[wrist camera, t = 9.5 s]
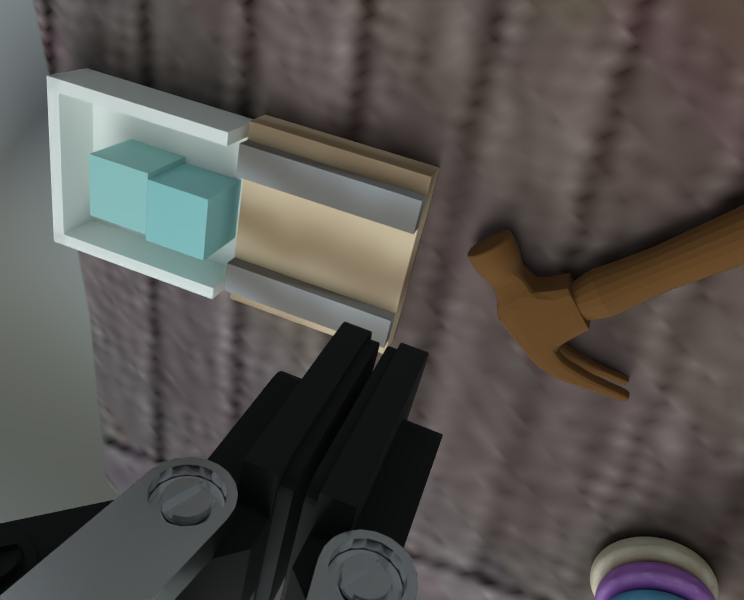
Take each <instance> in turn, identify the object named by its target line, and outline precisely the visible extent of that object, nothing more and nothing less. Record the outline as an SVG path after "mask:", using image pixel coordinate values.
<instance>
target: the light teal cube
mask: <svg viewBox="0 0 744 600" xmlns="http://www.w3.org/2000/svg"><path fill="white" fill-rule="evenodd" d="M183 163H185V156H182V155H179V154H175V153H172V152H169V151H166V150H163V149H160V148H157V147H154V146H151V145H148V144H145V143H141V142H138V141H135V140H132V139H130V140H127V141H124V142H121V143H118V144H115V145H113V146H110V147H107V148H104V149H101V150H98V151H96V152H93V153H90V154H89V186H90V215H91V216H94V217H97V218H100V219H103V220H105V221H108V222H111V223H114V224H117V225H120V226H122V227H125V228H128V229H131V230H134V231H137V232H140V233H142V234H145V235H146V216H147V185H148V179H150V178H152V177H154V176H157V175H159V174H161V173H163V172H165V171H168V170H170V169H172V168H174V167H176V166H179V165H181V164H183Z"/></svg>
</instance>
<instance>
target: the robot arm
mask: <svg viewBox="0 0 744 600" xmlns="http://www.w3.org/2000/svg"><path fill="white" fill-rule="evenodd" d="M371 337H372V331H369V330H367V329H364V328H361V327H359V326H356V325H353V324H351V323H348V322H343V323H342V324H341V326H340V327H339V329H338V330H337V331H336V333H335V334H334V335H333V337H332V338H331V340H330V341H329V342H328V344H327V345H326V346H325V348H324V349H323V351H322V352H321V353H320V355H319V356H318V357H317V359H316V360H315V362H314V363H313V364H312V366H311V367H310V368H309V370H308V371H307V373H306V374H305V375H304V377H303V378H302V379H301V378H298V377H296V376H293V375H291V374H288V373H286V372H283V371H280V372H278V373H277V374H276V375H275V376H274V377H273V378H272V379H271V381H270V382H269V383H268V384H267V386H266V387H265V388H264V389H263V391H262V392H261V393H260V394H259V396H258V397H257V398H256V399H255V401H254V402H253V403H252V404H251V406H250V407H249V408H248V409H247V411H246V412H245V413H244V414H243V416H242V417H241V418H240V419H239V421H238V422H237V423H236V424H235V426H234V427H233V428H232V429H231V431H230V432H229V433H228V434H227V436H226V437H225V438H224V439H223V441H222V442H221V443H220V444H219V446H218V447H217V448H216V450H215V451H214V452H213V453H212V455H211V456H210V457H209V458H208V460H207V459H201V458H195V457H185V458H175V459H172V460H169V461H166V462H163V463H161V464H159V465H158V466H156V467H154V468H153V469H151V470H150V471H148V472H147V473H146V474H145V475H144V476H142V477H141V478H140V479H139V480H138V481H136V482H135V483H134V484H133V485H132V486H130V487H129V488H128V489H127V490H126V491H124V492H123V493H122V494H121V495H120V496H119V497H117V498H116V499H115V500H111V501H106V502H101V503H97V504H92V505H87V506H82V507H77V508H73V509H68V510H63V511H59V512H53V513H49V514H44V515H39V516H34V517H30V518H25V519H20V520H15V521H10V522H5V523H1V524H0V600H274V598H275V596H276V594H277V592H278V590H279V588H280V586H281V585H282V583H283V581H284V579H285V582H284V586H283V590H282V594H281V598H280V600H416V599H417V591H418V579H417V571H416V569H415V566H414V564H413V561H412V559H411V558H410V556H409V555H408V554H407V552H406V551H405V550H404V545H405V542H406V539H407V536H408V534H409V531H410V528H411V525H412V522H413V519H414V516H415V513H416V511H417V508H418V505H419V502H420V499H421V496H422V493H423V491H424V488H425V485H426V482H427V479H428V476H429V473H430V470H431V468H432V465H433V462H434V459H435V456H436V453H437V450H438V447H439V445H440V442H441V439H442V436H443V434H440V433H438V432H435V431H433V430H430V429H428V428H425V427H422V426H420V425H417V424H415V423H412V422H410V421H407V419H408V416H409V413H410V410H411V407H412V404H413V401H414V398H415V395H416V392H417V389H418V386H419V383H420V380H421V377H422V374H423V371H424V367H425V364H426V361H427V358H428V355H429V353H428V352H425V351H423V350H420V349H417V348H415V347H412V346H409V345H407V344H404V343H401V344H400V345H399V347H398V349H395V348H393V347H390V346H387V348H386V349H385V351H384V353H383V355H382V356H381V358H380V360H379V362H378V363H377V365H376V367H375V369H374V370H373V368H374V364H375V361H376V357H377V354H378V350H379V346H380V343H379V342H377V341H374V340H371ZM372 371H373V372H372ZM285 577H286V578H285Z"/></svg>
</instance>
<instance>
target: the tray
mask: <svg viewBox="0 0 744 600" xmlns="http://www.w3.org/2000/svg"><path fill="white" fill-rule="evenodd" d="M47 95H48V118H49V140H50V162H51V184H52V207H53V227H54V228H53V229H54V241H55V242H57V243H60V244H63V245H65V246H68V247H71V248H74V249H76V250H79V251H82V252H85V253H87V254H90V255H93V256H96V257H98V258H101V259H104V260H107V261H109V262H112V263H115V264H118V265H120V266H123V267H126V268H129V269H131V270H134V271H137V272H139V273H142V274H145V275H148V276H150V277H153V278H156V279H159V280H161V281H164V282H167V283H170V284H172V285H175V286H178V287H181V288H183V289H186V290H189V291H192V292H194V293H197V294H200V295H203V296H205V297H208V298H211V299H213V298H214V297H215V296H217V295H218V294H219V293H220V292H221V291H223V290H224V286H225V276H226V267H227V263H228V262H229V261H230V260H232V259H233V258H234V257H235V249H236V240H237V231H238V222H239V213H240V204H241V195H242V186H243V179H242V178H239V177H236V171H237V162H238V152H239V143H241V142H244V141H246V140H248V132H249V123H250V121H251V120H253V119H251V118H248V117H244V116H241V115H238V114H235V113H231V112H228V111H225V110H222V109H218V108H215V107H212V106H209V105H205V104H202V103H199V102H196V101H192V100H189V99H186V98H183V97H179V96H176V95H173V94H169V93H166V92H163V91H160V90H156V89H153V88H150V87H147V86H143V85H140V84H137V83H134V82H130V81H127V80H124V79H121V78H117V77H114V76H111V75H108V74H104V73H101V72H98V71H95V70H91V69H88V68H85V69H79V70H74V71H68V72H63V73H58V74H52V75H47ZM130 139H132V140H135V141H138V142H141V143H145V144H148V145H151V146H154V147H157V148H160V149H163V150H166V151H169V152H172V153H175V154H179V155H182V156H185V163H188V164H191V165H194V166H198V167H201V168H204V169H207V170H210V171H213V172H216V173H219V174H222V175H225V176H228V177H231V178H234V179H237V180H241V189H240V199H239V208H238V217H237V226H236V236H235V238H234V239H233V240H231V241H230V242H229V243H227V244H226V245H224V246H223V247H222V248H220V249H219V250H217V251H216V252H215V253H213V254H212V255H210V256H209V257H208V258H206V259H205V260H200V259H197V258H195V257H192V256H189V255H186V254H183V253H180V252H178V251H175V250H172V249H169V248H166V247H163V246H161V245H158V244H155V243H152V242H149V241H146V235H145V234H142V233H140V232H137V231H134V230H131V229H128V228H125V227H122V226H120V225H117V224H114V223H111V222H108V221H105V220H103V219H100V218H97V217H94V216H91V215H90V186H89V154H90V153H93V152H96V151H98V150H101V149H104V148H107V147H110V146H113V145H115V144H118V143H121V142H124V141H127V140H130Z"/></svg>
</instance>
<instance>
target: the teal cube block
mask: <svg viewBox="0 0 744 600" xmlns="http://www.w3.org/2000/svg"><path fill="white" fill-rule="evenodd" d="M240 189H241V180H237V179H234V178H231V177H228V176H225V175H222V174H219V173H216V172H213V171H210V170H207V169H204V168H201V167H198V166H194V165H191V164H188V163H183V164H181V165H179V166H176V167H174V168H172V169H170V170H168V171H165V172H163V173H161V174H159V175H157V176H154V177H152V178H150V179H148V185H147V216H146V241H149V242H152V243H155V244H158V245H161V246H163V247H166V248H169V249H172V250H175V251H178V252H180V253H183V254H186V255H189V256H192V257H195V258H197V259H200V260H205V259H206V258H208V257H209V256H210V255H212V254H213V253H215V252H216V251H217V250H219V249H220V248H222V247H223V246H224V245H226V244H227V243H229V242H230V241H231V240H233V239H234V238H235V236H236V226H237V217H238V208H239V199H240Z"/></svg>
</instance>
